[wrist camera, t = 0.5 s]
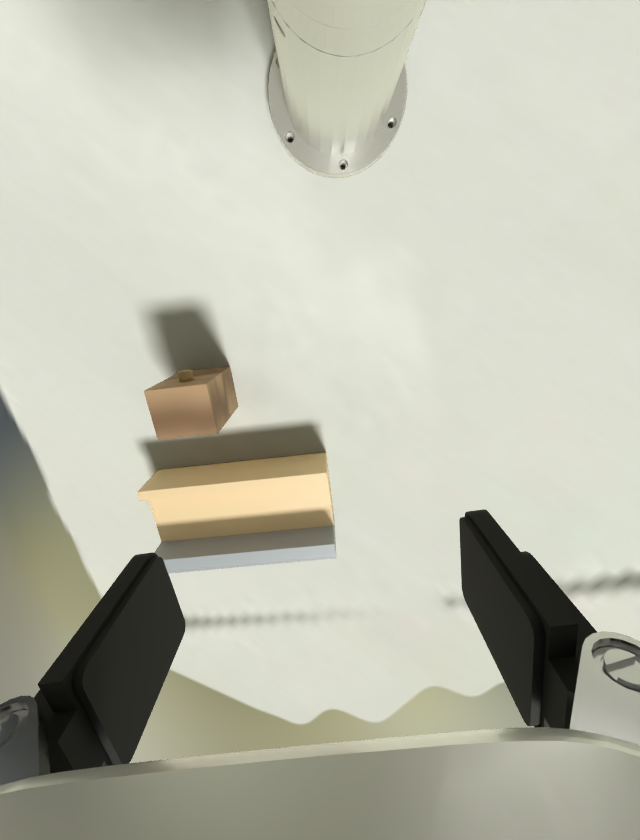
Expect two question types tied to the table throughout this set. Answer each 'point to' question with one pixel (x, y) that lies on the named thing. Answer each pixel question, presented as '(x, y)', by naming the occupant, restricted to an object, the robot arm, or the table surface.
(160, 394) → the cabinet block
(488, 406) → the table surface
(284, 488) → the cleat board
